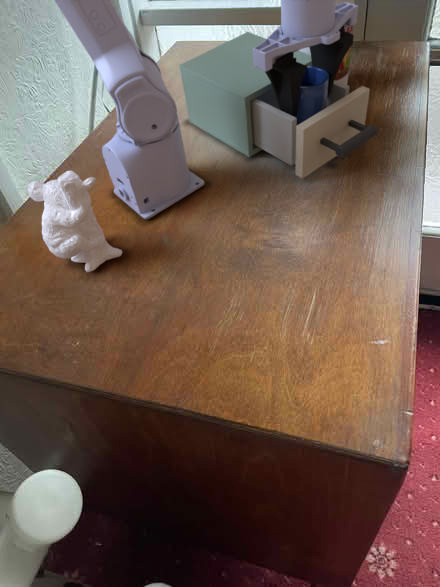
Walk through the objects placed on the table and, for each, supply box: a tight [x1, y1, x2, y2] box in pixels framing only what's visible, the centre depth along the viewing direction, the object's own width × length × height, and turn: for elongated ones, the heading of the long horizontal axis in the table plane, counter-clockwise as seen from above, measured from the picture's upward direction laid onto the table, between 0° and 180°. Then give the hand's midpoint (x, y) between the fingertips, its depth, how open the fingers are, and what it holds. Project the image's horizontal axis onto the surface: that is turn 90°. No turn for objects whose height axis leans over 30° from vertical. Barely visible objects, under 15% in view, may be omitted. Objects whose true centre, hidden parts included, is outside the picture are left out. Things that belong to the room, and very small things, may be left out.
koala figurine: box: [27, 170, 123, 273], centre depth 49 cm, size 8×7×12 cm
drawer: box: [250, 80, 379, 179], centre depth 59 cm, size 16×11×7 cm
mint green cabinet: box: [178, 31, 312, 158], centre depth 65 cm, size 14×13×9 cm
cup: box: [295, 66, 329, 125], centre depth 57 cm, size 5×5×5 cm
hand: (304, 104), depth 58 cm, fingers closed on cup, 5 cm apart
